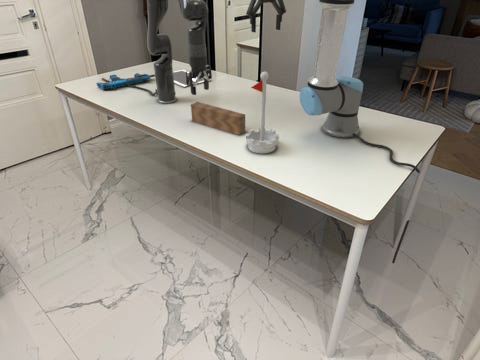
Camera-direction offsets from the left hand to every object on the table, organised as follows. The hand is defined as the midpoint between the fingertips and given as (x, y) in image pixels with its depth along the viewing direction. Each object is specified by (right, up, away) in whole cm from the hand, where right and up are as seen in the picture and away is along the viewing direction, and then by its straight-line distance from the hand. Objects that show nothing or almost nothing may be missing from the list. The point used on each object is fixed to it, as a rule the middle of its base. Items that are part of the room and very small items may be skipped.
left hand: (200, 92), depth 151 cm
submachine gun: (-53, +22, +59) cm, 83 cm away
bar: (+8, -15, +3) cm, 17 cm away
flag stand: (+26, -26, -14) cm, 40 cm away
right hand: (+30, +31, +9) cm, 44 cm away
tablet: (-18, +26, +66) cm, 73 cm away
